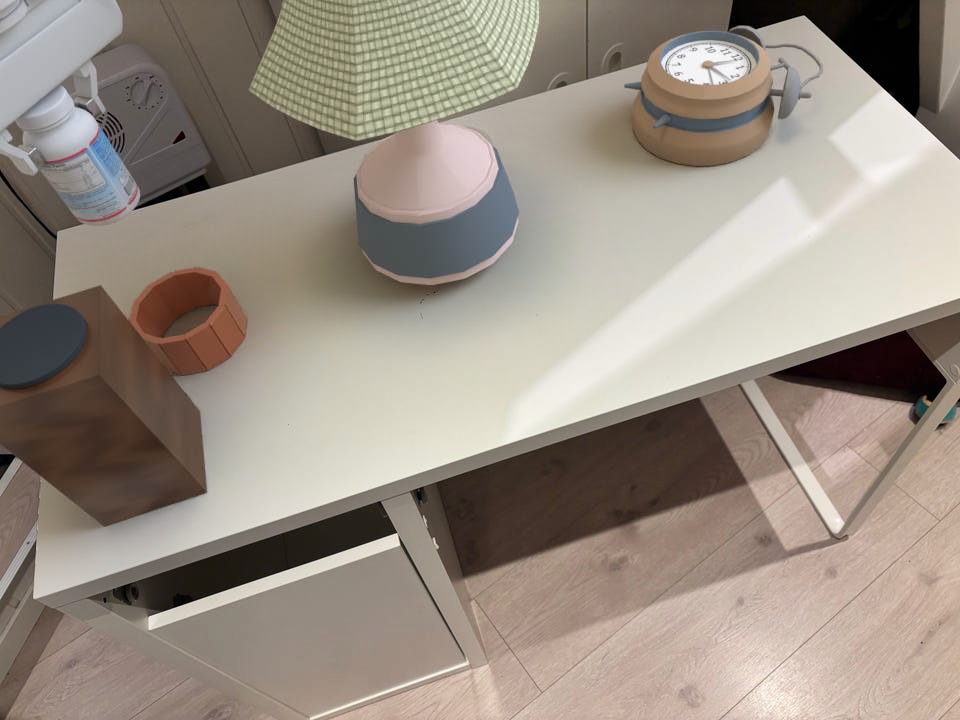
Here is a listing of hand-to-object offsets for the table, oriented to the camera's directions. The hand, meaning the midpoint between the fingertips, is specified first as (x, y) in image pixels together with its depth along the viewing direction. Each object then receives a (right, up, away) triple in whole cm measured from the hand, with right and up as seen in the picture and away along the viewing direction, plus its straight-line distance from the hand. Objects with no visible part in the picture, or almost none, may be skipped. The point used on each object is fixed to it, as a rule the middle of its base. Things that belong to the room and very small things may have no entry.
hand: (66, 141), depth 63 cm
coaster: (0, -17, -4) cm, 18 cm away
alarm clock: (+66, +12, +32) cm, 74 cm away
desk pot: (+3, -16, +21) cm, 26 cm away
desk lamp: (+30, -4, +26) cm, 40 cm away
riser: (+2, -29, +11) cm, 31 cm away
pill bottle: (+1, -4, +6) cm, 7 cm away
